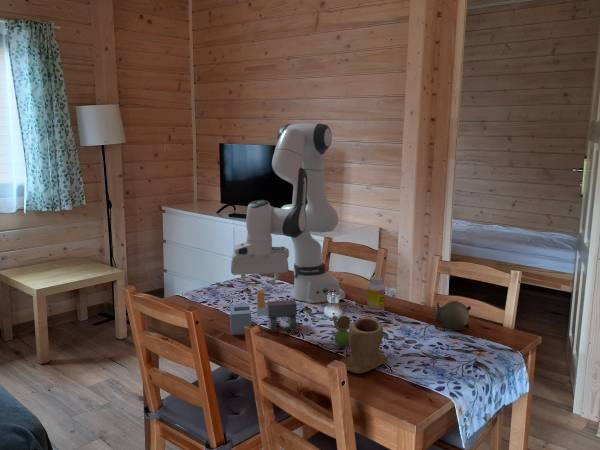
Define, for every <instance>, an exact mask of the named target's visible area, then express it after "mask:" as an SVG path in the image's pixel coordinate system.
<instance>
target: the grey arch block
mask: <svg viewBox="0 0 600 450" xmlns="http://www.w3.org/2000/svg"><path fill="white" fill-rule="evenodd" d="M267 304H268V306H269V315H267V316H268V326H269V329H270V332H274V331H275V332H276V331H277V329H278V328H277V323H278V322H277V318H287V323H288V326H289V329H290V330H291V331H292V330H297V316H298V314H297V313H298V310H297V309H298V307H297V301H296V299H289V300H287V299H286V300H272V301H271V300H270V301H267V302H266V305H267Z"/></svg>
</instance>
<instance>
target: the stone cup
mask: <svg viewBox="0 0 600 450" xmlns="http://www.w3.org/2000/svg"><path fill="white" fill-rule="evenodd" d="M349 326H350V327H349V329H348V332H349V344H348V346H349V348H350V353H351V354H349V355H348V356H345V357H344V358H342V359H341V360H340V361H342V362H344V363H345V364H346V366H347V370H346V371H348V372H350V373H356V374H362V373H366V372H369V371H371V370H373V369H376V368H377V367H379V366H381V365H384V364H386V363H387V362H388V361H389V359H388V357H387V356H386V355H385V353H383V351H382V349H381V348H380V346H381V344H382V341H383V338H384V329H383V326H382V323H381V322H380V321H378V320H377V319H375V318H372V317H371V318H370V317H361V318H358V319H356V320H355V321H353V322H352V323H350V325H349Z"/></svg>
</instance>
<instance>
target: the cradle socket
mask: <svg viewBox="0 0 600 450" xmlns="http://www.w3.org/2000/svg"><path fill="white" fill-rule="evenodd" d="M251 312H252V311H251V309H250V303H240V304H237V303H236V304H229V317H230V318H229V320H230V335H231V336H235V335H245V334H244V326H251V327H252V313H251Z"/></svg>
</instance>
